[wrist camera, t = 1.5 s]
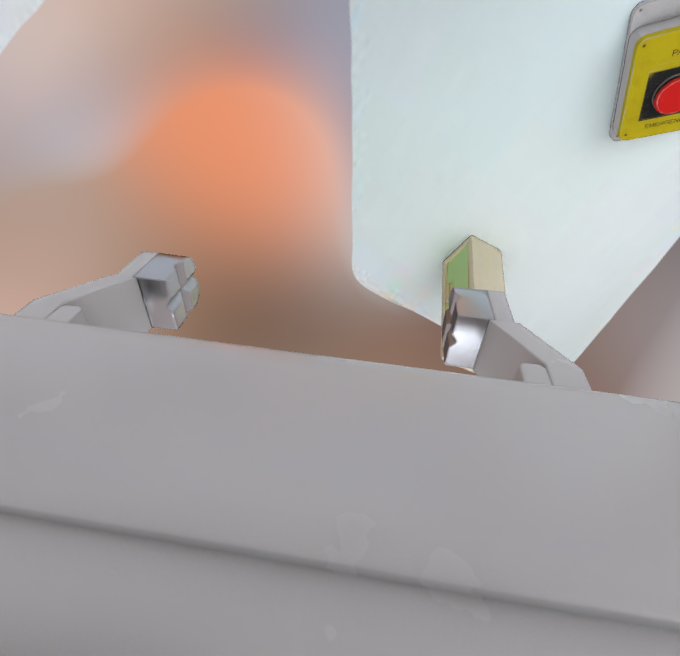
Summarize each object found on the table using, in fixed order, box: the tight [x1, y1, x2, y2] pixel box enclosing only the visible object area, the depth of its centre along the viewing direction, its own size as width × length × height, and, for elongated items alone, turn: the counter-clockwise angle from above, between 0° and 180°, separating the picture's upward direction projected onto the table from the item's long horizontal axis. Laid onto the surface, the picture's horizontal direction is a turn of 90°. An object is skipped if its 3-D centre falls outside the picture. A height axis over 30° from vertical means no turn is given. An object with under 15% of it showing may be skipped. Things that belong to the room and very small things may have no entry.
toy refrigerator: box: [441, 236, 506, 372], centre depth 66 cm, size 8×7×21 cm
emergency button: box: [610, 0, 680, 141], centre depth 44 cm, size 9×4×15 cm
